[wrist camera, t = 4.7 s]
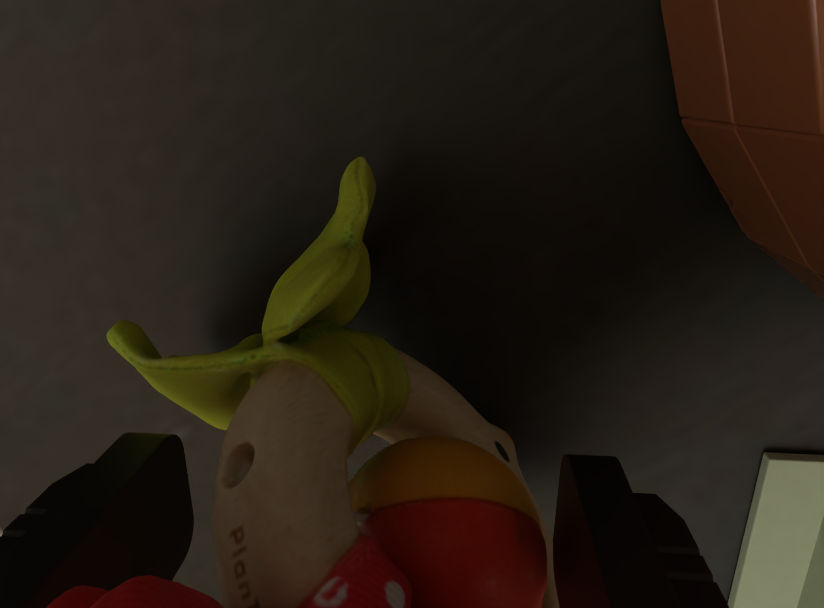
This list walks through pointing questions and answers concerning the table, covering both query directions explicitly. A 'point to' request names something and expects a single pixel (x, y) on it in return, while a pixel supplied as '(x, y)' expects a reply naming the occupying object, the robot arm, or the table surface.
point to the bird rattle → (343, 459)
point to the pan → (758, 116)
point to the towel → (783, 536)
